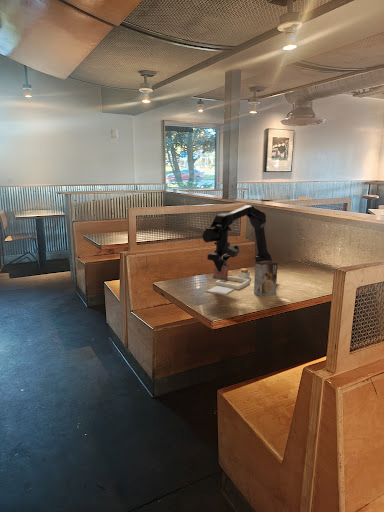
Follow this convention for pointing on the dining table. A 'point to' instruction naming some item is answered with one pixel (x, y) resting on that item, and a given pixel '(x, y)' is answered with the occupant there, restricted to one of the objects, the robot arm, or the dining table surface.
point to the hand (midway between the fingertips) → (221, 271)
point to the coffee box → (265, 278)
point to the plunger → (244, 270)
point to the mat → (220, 290)
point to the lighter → (223, 273)
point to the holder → (242, 278)
